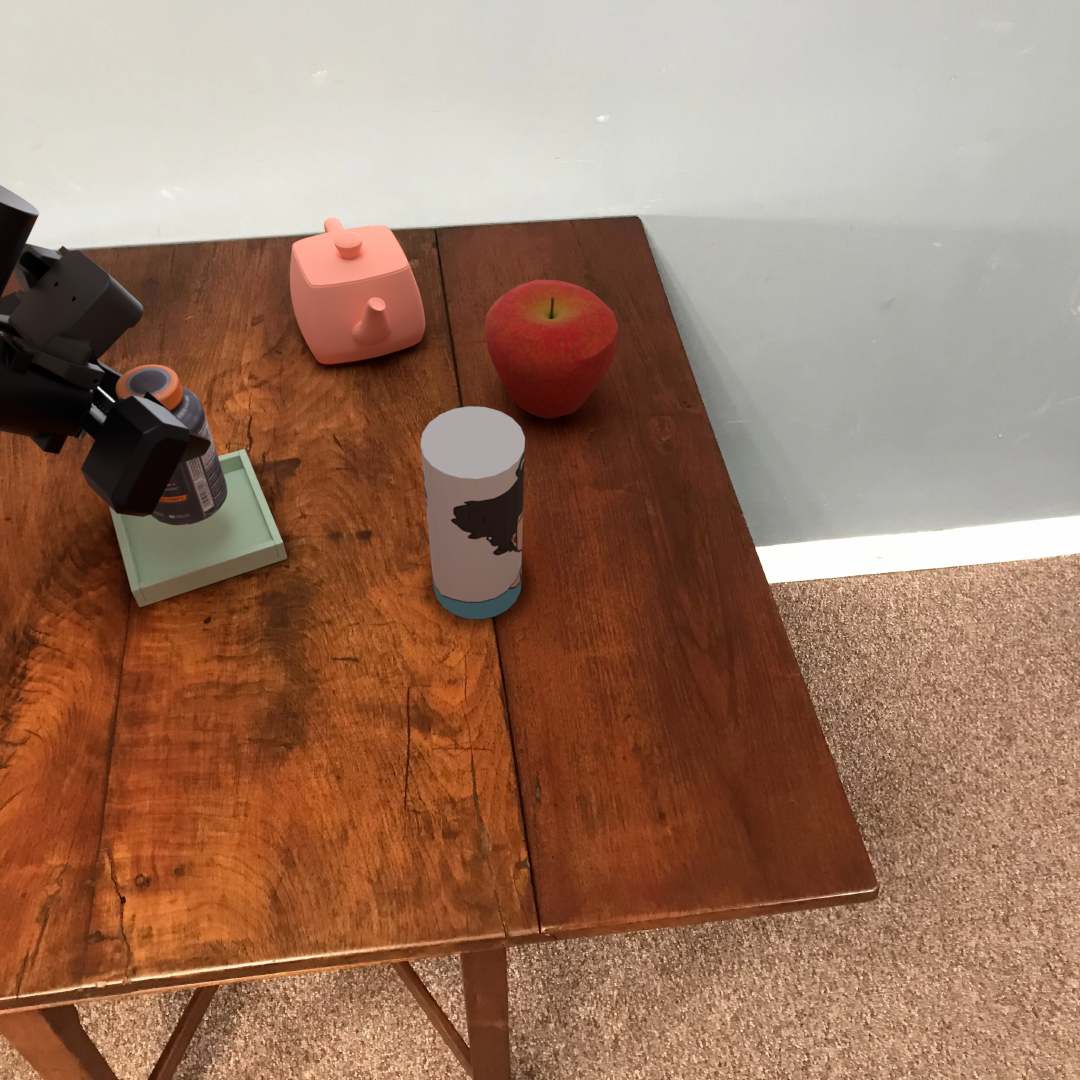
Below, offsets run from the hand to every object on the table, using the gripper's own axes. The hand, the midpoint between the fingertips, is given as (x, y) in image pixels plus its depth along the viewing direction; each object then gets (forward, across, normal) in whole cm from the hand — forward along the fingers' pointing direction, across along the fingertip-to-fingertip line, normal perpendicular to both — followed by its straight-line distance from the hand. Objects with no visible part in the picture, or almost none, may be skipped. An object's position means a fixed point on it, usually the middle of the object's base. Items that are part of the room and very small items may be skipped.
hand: (182, 425), depth 66 cm
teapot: (+25, +11, -9) cm, 28 cm away
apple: (+29, -8, -13) cm, 33 cm away
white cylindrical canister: (+16, -18, 0) cm, 24 cm away
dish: (+7, +1, +9) cm, 11 cm away
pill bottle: (+4, 0, +6) cm, 7 cm away
